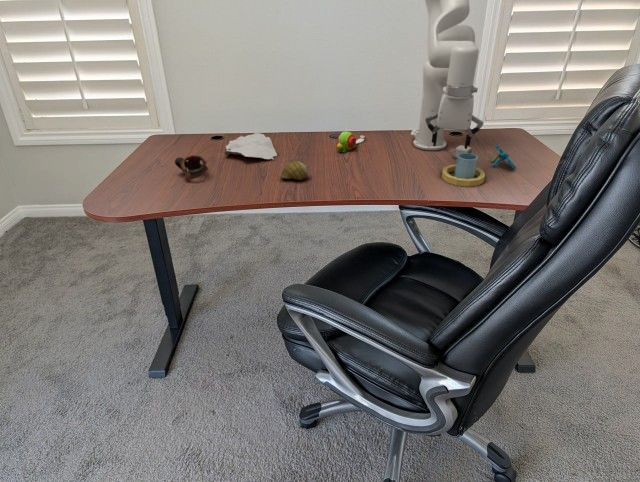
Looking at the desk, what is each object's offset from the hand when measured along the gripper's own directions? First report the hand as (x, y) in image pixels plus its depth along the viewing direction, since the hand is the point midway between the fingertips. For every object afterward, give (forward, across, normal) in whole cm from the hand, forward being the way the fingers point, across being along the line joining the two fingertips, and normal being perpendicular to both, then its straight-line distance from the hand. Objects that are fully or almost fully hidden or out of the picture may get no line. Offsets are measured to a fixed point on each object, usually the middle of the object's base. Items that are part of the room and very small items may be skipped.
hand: (450, 146), depth 136 cm
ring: (+10, -6, 0) cm, 12 cm away
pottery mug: (+10, +82, +22) cm, 85 cm away
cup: (+10, -6, 0) cm, 12 cm away
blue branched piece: (+10, -18, -14) cm, 25 cm away
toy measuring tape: (+11, +37, -20) cm, 43 cm away
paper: (+11, +72, -3) cm, 73 cm away
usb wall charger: (+11, -4, -18) cm, 22 cm away
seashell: (+10, +48, +15) cm, 51 cm away
